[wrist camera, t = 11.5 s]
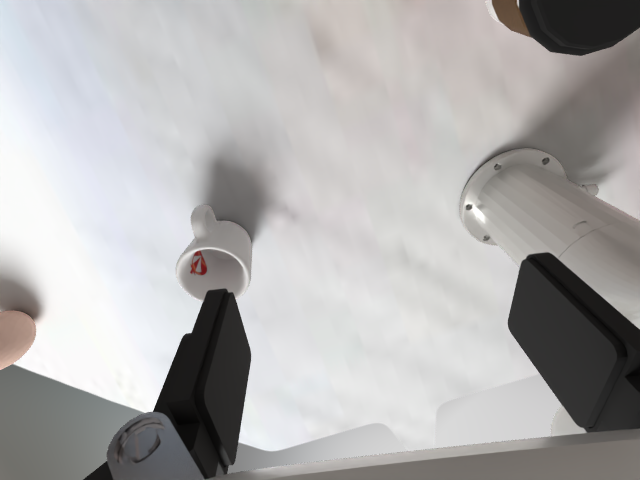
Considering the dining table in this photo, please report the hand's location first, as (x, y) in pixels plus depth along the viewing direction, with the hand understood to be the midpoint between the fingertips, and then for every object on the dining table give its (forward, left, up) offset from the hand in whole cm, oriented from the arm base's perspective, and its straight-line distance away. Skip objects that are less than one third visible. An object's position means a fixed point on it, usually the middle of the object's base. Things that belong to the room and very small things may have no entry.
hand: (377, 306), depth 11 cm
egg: (+45, +22, -31) cm, 59 cm away
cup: (+14, +12, -31) cm, 36 cm away
